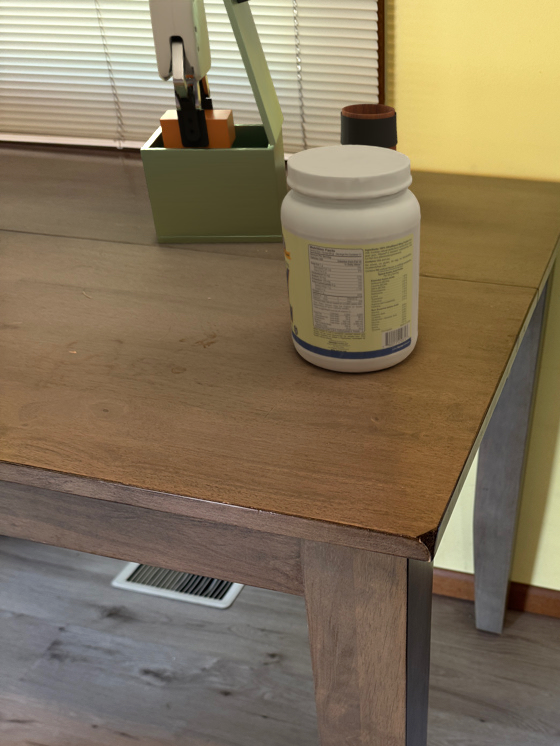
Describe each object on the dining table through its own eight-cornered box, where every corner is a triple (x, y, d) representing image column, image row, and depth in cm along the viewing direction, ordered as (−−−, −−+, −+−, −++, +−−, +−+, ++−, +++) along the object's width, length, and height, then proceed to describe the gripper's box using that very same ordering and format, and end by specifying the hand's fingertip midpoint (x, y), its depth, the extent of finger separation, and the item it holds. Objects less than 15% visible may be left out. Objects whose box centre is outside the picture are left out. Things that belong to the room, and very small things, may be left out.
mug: (384, 183, 117) (384, 97, 110) (406, 205, 108) (407, 114, 101) (330, 186, 115) (326, 99, 108) (347, 210, 106) (344, 117, 99)
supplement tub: (313, 316, 79) (300, 138, 68) (427, 327, 77) (433, 145, 66) (275, 370, 70) (254, 173, 59) (404, 383, 68) (407, 184, 57)
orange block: (164, 148, 92) (159, 119, 90) (172, 138, 96) (167, 109, 94) (230, 148, 92) (226, 119, 90) (235, 137, 97) (232, 109, 95)
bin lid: (215, -22, 78) (264, -38, 78) (231, -31, 89) (274, -45, 88) (269, 146, 89) (313, 133, 88) (278, 120, 99) (317, 109, 99)
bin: (158, 243, 95) (139, 149, 88) (177, 210, 106) (161, 123, 99) (282, 242, 96) (273, 149, 89) (288, 209, 106) (281, 123, 100)
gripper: (153, -47, 89) (181, 125, 101) (119, -38, 76) (156, 158, 87) (217, -47, 89) (238, 124, 101) (194, -38, 76) (221, 158, 88)
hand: (199, 138), depth 94 cm, fingers closed on orange block, 5 cm apart
